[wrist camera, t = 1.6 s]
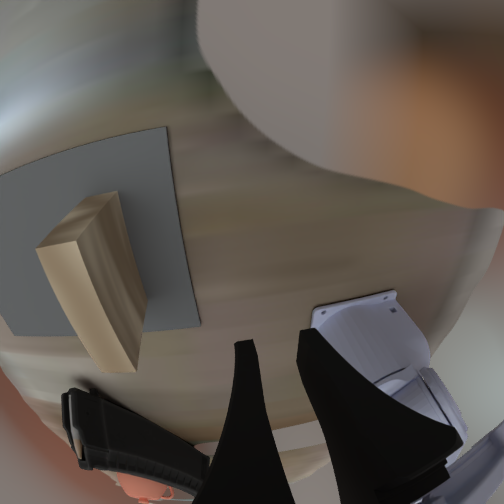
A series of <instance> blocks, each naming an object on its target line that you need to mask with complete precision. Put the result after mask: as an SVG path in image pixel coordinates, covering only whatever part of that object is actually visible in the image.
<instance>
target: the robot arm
mask: <svg viewBox="0 0 504 504" xmlns="http://www.w3.org/2000/svg"><path fill="white" fill-rule="evenodd" d="M396 295H397V292H396V291H395V290H391V291H387V292H383V293H379V294H375V295H371V296H367V297H362V298H358V299H354V300H349V301H345V302H340V303H336V304H331V305H326V306H321V307H317V308H315V309H314V310H313V312H312V320H311V327H310V329H305V330H300V334H299V343H298V351H297V360H296V362H297V366H298V369H299V373H300V376H301V380H302V383H303V385H304V388H305V390H306V393H307V395H308V397H309V400H310V402H311V404H312V407H313V409H314V411H315V414H316V416H317V418H318V421H319V423H320V425H321V428H322V431H323V433H324V437H325V440H326V443H327V447H328V450H329V454H330V458H331V461H332V465H333V469H334V473H335V477H336V481H337V486H338V491H339V496H340V501H341V504H485V503H486V502H487V501H488V500H489V499H490V497H491V496H492V495H493V493H494V492H495V491H496V490H497V488H498V487H499V486H500V484H501V483H502V481H503V480H504V420H503V421H502V422H501V423H500V424H499V425H498V426H497V427H496V428H494V429H493V430H492V431H490V432H489V433H488V434H487V435H485V436H484V437H483V438H482V439H480V440H479V441H478V442H477V443H476V444H475V445H474V446H472V449H470V450H469V451H468V452H467V453H465V454H464V455H463V456H462V457H460V458H459V459H458V460H456V459H457V457H458V456H459V454H460V452H461V450H462V448H463V446H464V444H465V442H466V440H467V437H468V435H467V433H466V431H467V429H468V427H467V426H466V424H465V422H464V420H463V418H462V417H461V412H460V410H459V408H458V406H457V404H456V403H455V401H454V399H453V398H452V396H451V394H450V393H449V391H448V390H447V388H446V387H445V385H444V384H443V382H442V381H441V379H440V378H439V376H438V375H437V373H436V372H435V371H434V369H433V368H428V367H429V364H430V350H429V346H428V343H427V340H426V338H425V336H424V335H423V333H422V332H421V331H420V329H419V328H418V327H417V325H416V324H415V323H414V322H413V320H412V319H411V318H410V317H409V315H408V314H407V313H406V312H405V310H404V309H403V308H402V307H401V306H400V304H399V303H398V302H397V301H396V300H395V298H396ZM322 311H323V312H322ZM234 347H235V370H234V379H233V386H232V393H231V398H230V403H229V407H228V412H227V416H226V420H225V424H224V427H223V431H222V434H221V437H220V440H219V443H218V447H217V449H216V452H215V455H214V457H213V460H212V463H211V465H210V467H209V469H208V472H207V474H206V476H205V479H204V481H203V483H202V485H201V487H200V489H199V491H198V493H197V495H196V497H195V499H194V500H193V502H192V504H295V501H294V499H293V496H292V493H291V490H290V487H289V484H288V482H287V479H286V476H285V473H284V469H283V466H282V463H281V460H280V457H279V454H278V451H277V447H276V444H275V441H274V437H273V434H272V430H271V427H270V423H269V420H268V416H267V413H266V408H265V403H264V396H263V389H262V382H261V375H260V368H259V362H258V355H257V352H256V348H255V345H254V342H253V339H251V340H244V341H238V342H236V343H235V344H234ZM422 377H423V378H424V380H423V378H422ZM425 382H426V383H425ZM428 387H429V388H428ZM443 411H444V412H443Z"/></svg>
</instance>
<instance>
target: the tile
mask: <svg viewBox="0 0 504 504" xmlns="http://www.w3.org/2000/svg"><path fill="white" fill-rule="evenodd" d="M35 249H36V252H37V254H38V257H39V259H40V262H41V264H42V266H43V269H44V271H45V273H46V276H47V278H48V280H49V282H50V284H51V286H52V289H53V291H54V293H55V295H56V297H57V299H58V301H59V303H60V305H61V307H62V308H63V310H64V312H65V314H66V316H67V318H68V319H69V321H70V323H71V325H72V327H73V328H74V330H75V332H76V333H77V335H78V337H79V338H80V340H81V342H82V343H83V345H84V346H85V348H86V350H87V351H88V353H89V354H90V356H91V357H92V359H93V360H94V362H95V363H96V365H97V366H98V368H99V369H100V370H101V372H102V373H114V372H137V365H138V358H139V350H140V343H141V337H142V331H143V325H144V319H145V313H146V308H147V302H148V299H147V296H146V293H145V290H144V287H143V284H142V281H141V278H140V275H139V272H138V269H137V265H136V262H135V259H134V255H133V252H132V248H131V245H130V241H129V237H128V233H127V230H126V226H125V222H124V218H123V213H122V209H121V205H120V200H119V196H118V191H114V192H109V193H104V194H100V195H95V196H91V197H86V198H84V199H83V200H82V201H81V202H80V203H79V204H78V205H77V206H76V207H75V208H74V209H73V210H72V211H71V212H70V213H69V214H67V215H66V216H65V217H64V218H63V219H62V220H61V222H60V223H59V224H58V225H57V226H56V227H55V228H54V229H53V230H52V231H51V232H50V233H49V234H48V235H47V236H46V237H45V238H44V239H43V241H42V242H41V243H40V244H39V245H38V246H37V247H36V248H35Z"/></svg>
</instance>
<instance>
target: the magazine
mask: <svg viewBox="0 0 504 504" xmlns="http://www.w3.org/2000/svg"><path fill="white" fill-rule="evenodd" d="M61 401H62V422H63V428H64V429H65V430H66V432H67V435H68V439H69V442H70V444H71V445H72V446H71V448H72V449H73V451H74V452H75V453H76V455H77V458H78V462H79V467H80V468H81V469H85V470H93V468H96V469H99V470H109V471H114V472H119V473H124V474H129V475H133V476H137V477H141V478H145V479H149V480H152V481H155V482H158V483H161V484H164V485H167V486H171V487H174V488H177V489H180V490H182V491H184V492H187V493H189V494H191V495H192V496H194V497H196V495H197V493H198V491H199V489H200V487H201V485H202V483H203V481H204V479H205V476H206V474H207V472H208V469H209V464H210V457H209V456H206V455H204V454H203V453H201V452H200V451H198V450H197V449H195V448H194V447H192V446H191V445H189V444H188V443H186V442H185V441H183V440H181V439H180V438H178V437H177V436H175V435H173V434H172V433H170V432H168V431H166V430H165V429H163V428H161V427H159V426H158V425H156V424H154V423H152V422H150V421H149V420H147V419H145V418H143V417H141V416H139V415H137V414H135V413H133V412H130V411H128V410H126V409H123V408H121V407H119V406H117V405H115V404H113V403H111V402H109V401H107V400H105V399H103V398H100V397H99V395H98V392H97V390H96V389H91V390H90V393H88V392H85V391H82V390H80V389H77V388H70V389H69V391H68V392H67V393H63V394H62V395H61Z"/></svg>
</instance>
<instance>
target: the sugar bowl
mask: <svg viewBox="0 0 504 504" xmlns="http://www.w3.org/2000/svg"><path fill="white" fill-rule="evenodd" d="M117 476H118V480H119V482H120V484H121V486H122V488H123V489H124V491H125V492H126V494H127V495H129V496H130V497H134V498H139V501H138V502H139V503H145V504H148V503H149V501H148V500H158V499H160V498H162V499H171V498H172V497H173V496H174V490H173V488H172V487H171V486H169V488H170V491H171V495H170V496H169V497H164V496H162V495H163V494H164V492H165V490H166V488H167V485H164V484H161V483H158V482H155V481H152V480H149V479H145V478H141V477H137V476H133V475H129V474H124V473H119V472H117Z"/></svg>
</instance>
